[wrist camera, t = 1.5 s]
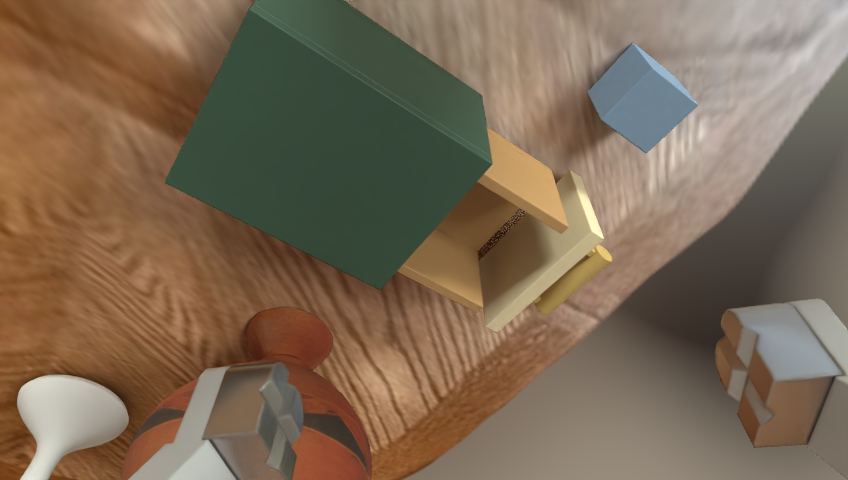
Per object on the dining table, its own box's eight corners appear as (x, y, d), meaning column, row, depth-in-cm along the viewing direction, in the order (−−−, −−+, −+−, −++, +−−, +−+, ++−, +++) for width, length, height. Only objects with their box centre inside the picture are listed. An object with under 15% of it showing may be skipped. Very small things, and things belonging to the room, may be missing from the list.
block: (632, 42, 39) (652, 67, 36) (676, 77, 41) (698, 105, 37) (586, 92, 41) (600, 120, 38) (629, 124, 43) (646, 153, 39)
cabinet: (482, 95, 42) (493, 164, 34) (388, 211, 48) (380, 290, 41) (287, -39, 36) (249, 8, 29) (211, 112, 43) (163, 182, 35)
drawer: (617, 201, 46) (645, 265, 40) (523, 286, 52) (535, 353, 46) (428, 74, 40) (428, 126, 34) (346, 187, 46) (332, 249, 39)
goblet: (294, 230, 49) (204, 522, 30) (422, 353, 59) (417, 633, 40) (150, 318, 56) (0, 601, 37) (286, 415, 66) (224, 680, 46)
